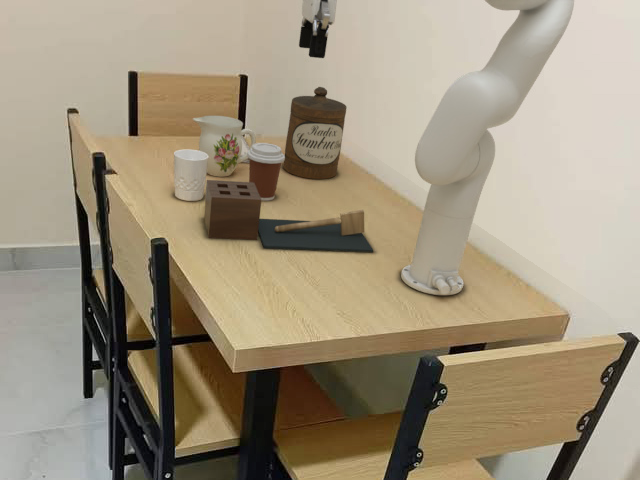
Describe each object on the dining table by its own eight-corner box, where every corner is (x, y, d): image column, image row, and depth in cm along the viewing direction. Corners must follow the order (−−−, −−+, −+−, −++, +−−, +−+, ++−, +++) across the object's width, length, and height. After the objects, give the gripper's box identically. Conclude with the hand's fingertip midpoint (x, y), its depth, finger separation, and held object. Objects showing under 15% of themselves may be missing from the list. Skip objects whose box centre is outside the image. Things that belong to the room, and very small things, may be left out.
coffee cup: (287, 200, 181) (293, 151, 174) (256, 204, 176) (261, 154, 169) (266, 187, 187) (271, 140, 180) (235, 191, 182) (240, 142, 175)
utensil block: (257, 239, 158) (261, 199, 153) (208, 237, 156) (211, 197, 151) (250, 221, 166) (254, 182, 162) (203, 219, 164) (206, 179, 159)
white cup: (200, 204, 171) (202, 162, 166) (167, 198, 172) (169, 156, 167) (209, 194, 178) (212, 153, 173) (178, 188, 179) (180, 147, 173)
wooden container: (290, 178, 195) (301, 92, 183) (277, 160, 207) (287, 78, 195) (343, 180, 199) (357, 96, 187) (327, 162, 211) (340, 82, 199)
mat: (373, 252, 159) (373, 250, 159) (264, 248, 154) (264, 245, 154) (354, 225, 172) (355, 223, 172) (253, 220, 167) (253, 218, 166)
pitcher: (261, 177, 193) (267, 124, 186) (198, 181, 185) (202, 125, 177) (242, 163, 201) (247, 112, 194) (181, 166, 192) (184, 113, 185)
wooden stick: (276, 245, 162) (364, 232, 164) (274, 224, 159) (364, 211, 161) (275, 243, 163) (362, 230, 165) (273, 222, 160) (362, 209, 163)
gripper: (354, -36, 135) (339, 63, 144) (332, -44, 150) (319, 46, 159) (314, -41, 134) (301, 59, 143) (296, -49, 148) (285, 42, 157)
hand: (311, 52), depth 151 cm, fingers open, 9 cm apart
